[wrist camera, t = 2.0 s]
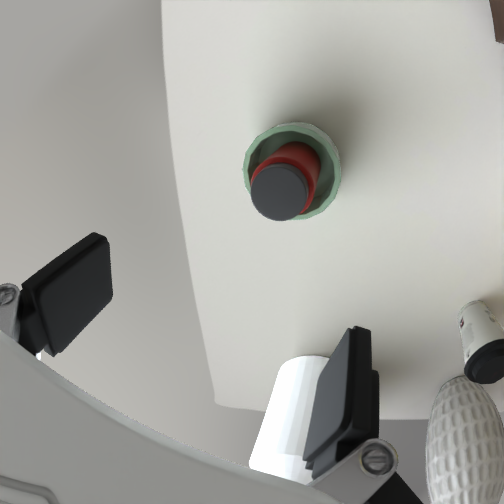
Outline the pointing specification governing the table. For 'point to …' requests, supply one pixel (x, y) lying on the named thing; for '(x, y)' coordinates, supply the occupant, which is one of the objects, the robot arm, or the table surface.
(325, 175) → the stoneware cup
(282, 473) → the bottle
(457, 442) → the vase
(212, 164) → the table surface
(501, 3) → the block
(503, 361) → the coffee cup
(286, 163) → the sauce bottle
